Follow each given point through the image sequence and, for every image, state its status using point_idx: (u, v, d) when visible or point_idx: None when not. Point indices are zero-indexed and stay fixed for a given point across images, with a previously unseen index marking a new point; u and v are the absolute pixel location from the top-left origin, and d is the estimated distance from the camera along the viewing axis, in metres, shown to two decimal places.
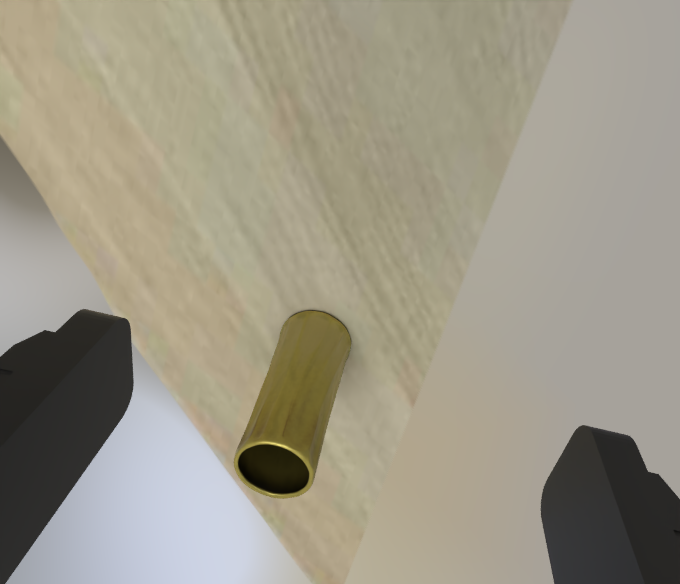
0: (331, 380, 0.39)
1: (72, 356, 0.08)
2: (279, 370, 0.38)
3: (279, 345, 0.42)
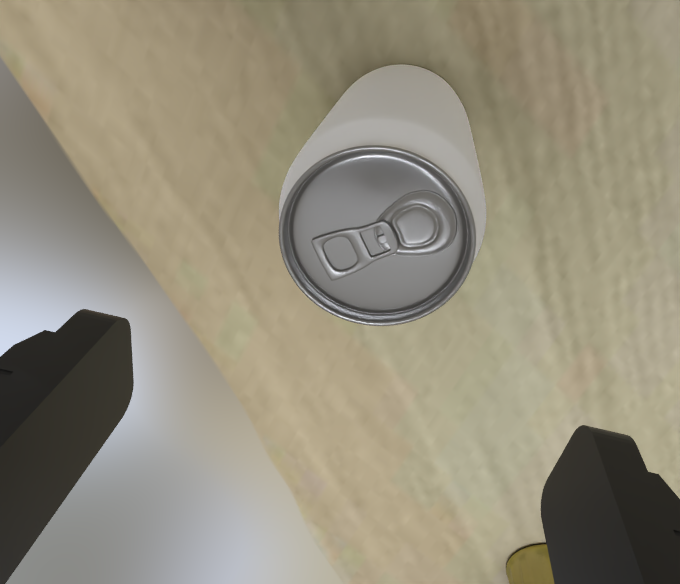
0: None
1: (72, 356, 0.08)
2: None
3: None
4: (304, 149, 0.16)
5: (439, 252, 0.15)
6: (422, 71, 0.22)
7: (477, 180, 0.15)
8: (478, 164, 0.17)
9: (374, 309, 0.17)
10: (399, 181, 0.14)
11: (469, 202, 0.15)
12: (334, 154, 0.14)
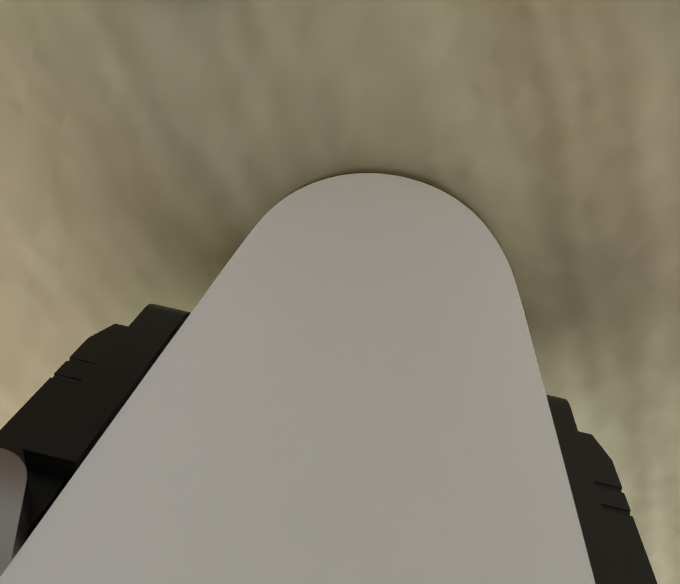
0: None
1: (149, 347, 0.08)
2: None
3: None
4: None
5: None
6: (418, 201, 0.10)
7: None
8: None
9: None
10: None
11: None
12: None
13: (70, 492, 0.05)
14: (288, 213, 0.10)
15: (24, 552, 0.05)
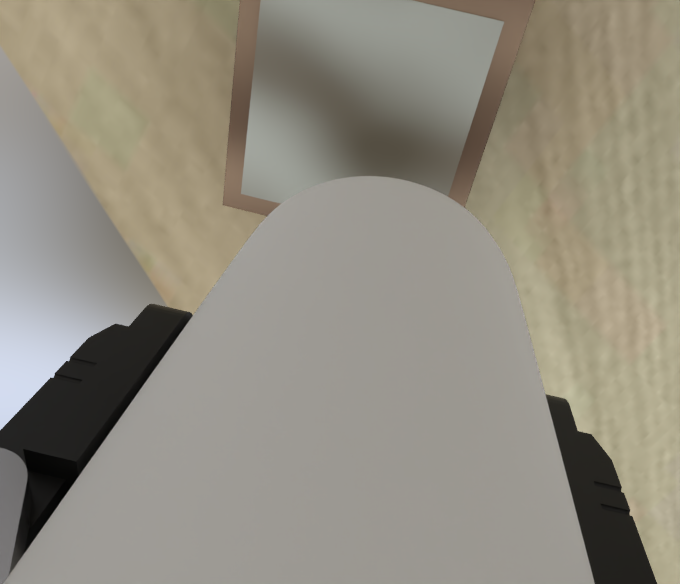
0: None
1: (149, 347, 0.08)
2: None
3: None
4: None
5: None
6: (418, 204, 0.10)
7: None
8: None
9: None
10: None
11: None
12: None
13: (74, 496, 0.05)
14: (289, 216, 0.10)
15: (29, 556, 0.05)
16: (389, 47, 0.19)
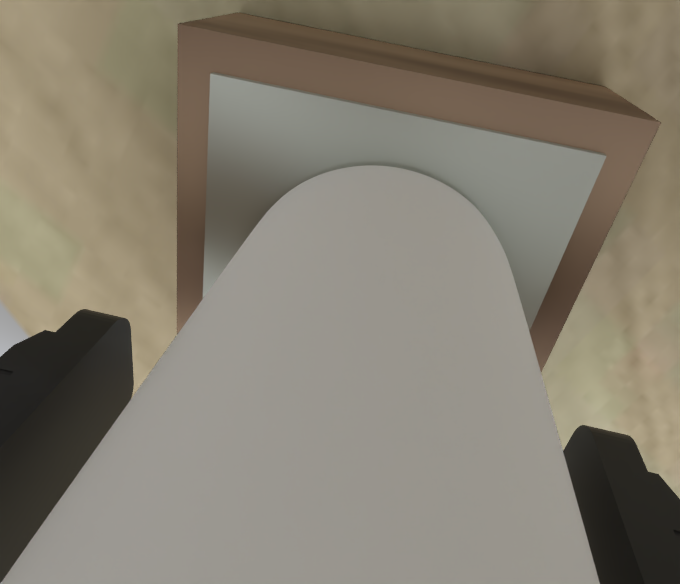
0: None
1: (72, 356, 0.08)
2: None
3: None
4: None
5: None
6: (423, 192, 0.10)
7: None
8: None
9: None
10: None
11: None
12: None
13: (114, 438, 0.06)
14: (300, 200, 0.10)
15: (76, 487, 0.05)
16: None
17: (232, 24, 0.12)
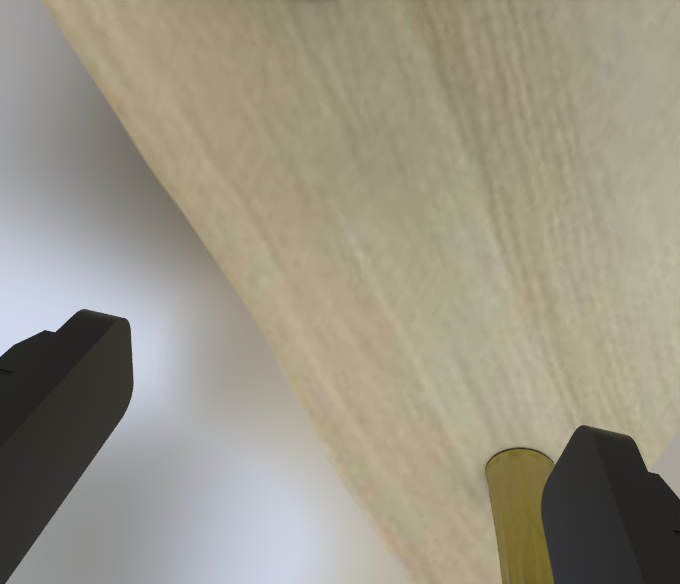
0: None
1: (72, 356, 0.08)
2: (520, 523, 0.41)
3: (502, 488, 0.45)
4: None
5: None
6: None
7: None
8: None
9: None
10: None
11: None
12: None
13: None
14: None
15: None
16: None
17: None
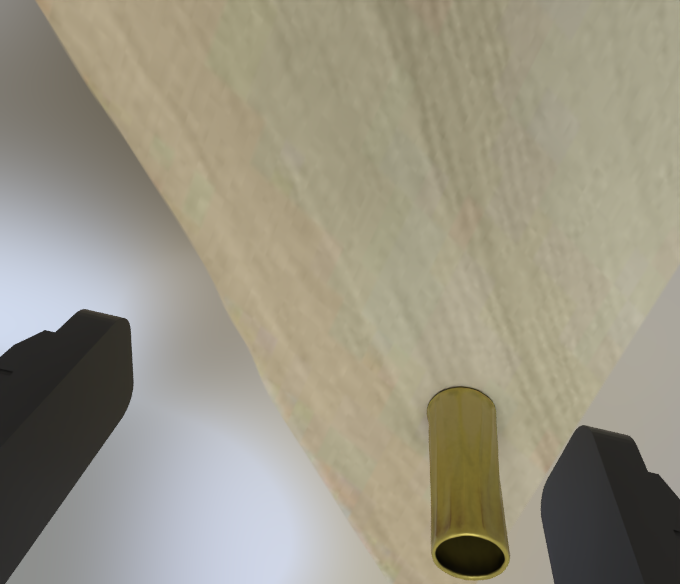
0: None
1: (72, 356, 0.08)
2: (452, 453, 0.41)
3: (439, 423, 0.45)
4: None
5: None
6: None
7: None
8: None
9: None
10: None
11: None
12: None
13: None
14: None
15: None
16: None
17: None
